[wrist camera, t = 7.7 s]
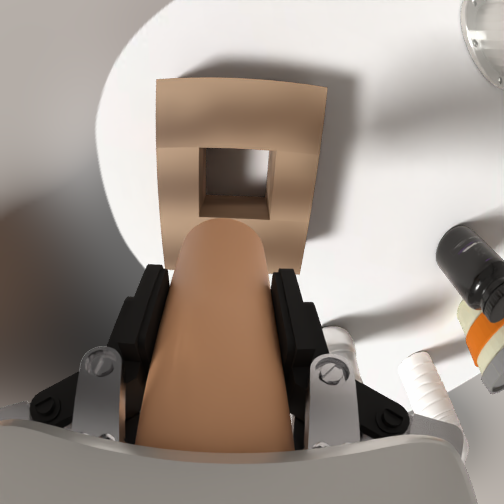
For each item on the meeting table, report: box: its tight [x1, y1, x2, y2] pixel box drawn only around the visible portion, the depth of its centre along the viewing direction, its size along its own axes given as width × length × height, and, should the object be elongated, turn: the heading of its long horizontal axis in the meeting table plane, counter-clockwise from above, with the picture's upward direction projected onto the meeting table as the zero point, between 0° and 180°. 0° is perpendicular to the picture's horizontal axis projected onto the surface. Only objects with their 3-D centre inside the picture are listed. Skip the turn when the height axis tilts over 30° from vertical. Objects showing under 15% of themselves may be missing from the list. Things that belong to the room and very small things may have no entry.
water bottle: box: [398, 352, 469, 465], centre depth 34 cm, size 9×6×25 cm
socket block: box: [156, 77, 328, 274], centre depth 24 cm, size 16×12×5 cm
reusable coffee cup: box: [457, 299, 504, 394], centre depth 31 cm, size 12×12×15 cm
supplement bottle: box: [436, 226, 504, 323], centre depth 26 cm, size 7×7×12 cm
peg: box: [135, 218, 295, 453], centre depth 9 cm, size 4×4×12 cm
